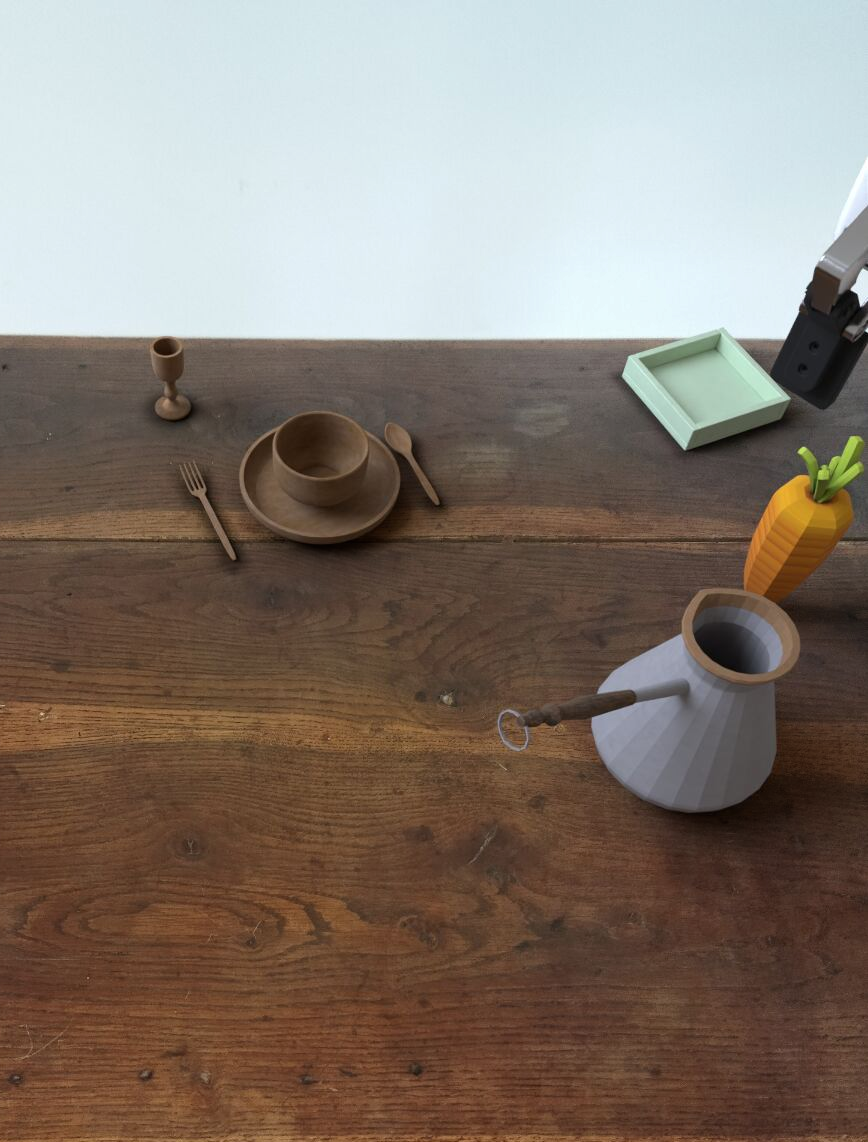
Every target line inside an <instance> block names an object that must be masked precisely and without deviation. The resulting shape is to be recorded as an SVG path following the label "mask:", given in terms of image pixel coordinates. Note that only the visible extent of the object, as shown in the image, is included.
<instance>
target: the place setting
mask: <svg viewBox="0 0 868 1142" xmlns="http://www.w3.org/2000/svg"><path fill="white" fill-rule="evenodd" d="M149 349H150V350H149V351H150V359H151V364H152V369H153V372H154V374H155V376H156V377H157V378H158V379H159V381H162V382H164V384H165V388H164V392H163V393H164V395H163V396H162V397H160V398H158V400H157V401H156V402H155V405H154V410H155V412H156V414H157V416H159V417H160V418H161V419H163V420H166V421H179V420H182V419H184V418H186V417H187V416H188V415H189V414H190V412H191V410H192V405H191V402H190V400H189V399H188V398H187V397H185V396H183V395H181V394H179V390H178V387H177V386H176V381H178V380H179V379H180V378H181V377H182V376H183V373H184V370H185V357H184V347H183V343H182V341H181V340H180V339H179V338H177V337H174V336H172V335H162V336H159V337H157V338H154V339H153V340H152V342H151V343H150V347H149ZM384 439H385V441H386V443H387V445H388V446H389V447H390V448H391V449H392V450H393V451H394V452H396V453H397V454H399V455H401V456H403V457H404V458H406V460H407V461H408V463H409V464H410V466H411V468H412V469H413V471H414V473H415V475H416V477H417V478H418V481H419V482H420V484H421V486H422V487H423V490H424V491H425V493H426V494H427V496H428V497H429V499H430V500H431V501H432V502H433V504H435V506H439V505H440V500H439V498H438V497H439V496H438V495H437V492H436V491H435V489H434V488H433V485H432V484H431V483H430V481H429V480H428V478H427V476H426V475H425V473H424V472H423V470H422V469H421V466H419V464H418V463H417V460H416V459H415V458H414V456H413V452H412V448H413V442H412V438H411V436H410V434H409V433H408V431H407V430H405V429H404V427H402V426H400V425H398V424H397V423H394V422H388V423H386V425H385V427H384ZM387 445H386V444H384V442H382V441H381V440H380V439H379V438H378V437H376V435H374V434H372V433H371V432H368V431H367V430H365V429H363V427H361V426H360V424H359V423H357V422H356V421H354V420H353V419H352V418H350V417H349V416H348V417H347V416H345V415H343V414H340V413H337V412H333V411H327V410H324V411H323V410H315V411H314V410H313V411H307V412H303V413H299V414H297V415H294V416H292V417H290V418H288V419H287V420H286V421H285V422H283V423H282V424H281V425H279V426H277V427H274V428H273V429H270V430H268V431H267V432H266V433H264V434H262V435H261V436H260V437H259V438H257V439H256V440H255V441H254V442H253V443H252V444H251V445H250V446H249V448H248V449H247V451H246V452H245V454H244V455H243V458H242V459H241V463H240V467H239V474H238V475H239V476H238V479H239V489H240V493H241V497H242V499H243V501H244V503H245V506H246V507H247V509H248V511H249V512H250V513H251V514H252V516H253V517H254V518H255V519H256V520H257V521H258V522H259V523H260V524H261V525H262V526H264V527H265V528H266V529H268V530H269V531H271V532H273V533H274V534H276V535H278V536H280V537H283V538H285V539H288V540H290V541H294V542H298V543H303V544H310V545H333V544H339V543H344V542H348V541H352V540H354V539H358V538H360V537H362V536H364V535H366V534H368V533H369V532H371V531H372V530H374V529H375V528H377V527H378V526H379V525H381V523H382V522H383V521H384V520H385V519H386V518H387V517H388V515H390V513H391V512H392V510H393V508H394V506H395V505H396V502H397V499H398V496H399V491H400V486H401V473H400V468H399V465H398V462H397V460H396V458H395V457H394V454H393V453H392V452H391V450H390V449H389V448H388V447H387ZM192 462H193V465H194V468H195V470H196V472H195V471H194V469H193V466H192V464H191V462H188V466H189V469H190V471H191V473H190V472H189V469H188V467H187V465H186V463H185V462H184V463H183V466H184V469H185V471H186V474H187V476H188V478H187V476H186V474H185V472H184V470H183V468H182V467H183V466H182V465H181V464H178V465H179V469H180V473H181V476H182V477H183V480H184V482H185V485H186V486H187V489H188V491H189V493H190V494H191V495H192V496H194V497H196V498H199V500H200V501H201V503H202V506H203V507H204V510H205V511H206V513H207V515H208V518H209V520H210V521H211V523H212V526H213V528H214V530H215V532H216V534H217V536H218V539H219V540H220V542H221V544H222V545H223V547H224V549H225V551H226V552H227V555H228V556H229V557H230V559H231V560H232V561H235V560H237V556H236V553H235V551H234V548H233V547H232V545H231V543H230V540H229V538H228V536H227V534H226V532H225V531H224V529H223V526H222V524H221V523H220V521H219V518H218V516H217V515H216V513H215V511H214V509H213V508H212V505H211V503H210V502H209V500H208V497H207V495H206V494H207V491H208V490H207V487H206V486H207V485H206V484H205V481H204V479H203V476H202V475H201V472H200V470H199V468H198V466H197V463H196V462H195V460H192ZM196 473H197V475H198V477H199V479H198V477H197V475H196ZM191 474H192V476H193V478H194V480H195V483H196V485H197V487H198V489H197V487H196V485H195V483H194V480H193V478H192V476H191ZM188 479H189V481H190V483H189V481H188ZM199 480H200V482H199ZM200 483H201V484H202V486H203V488H202V486H201V484H200ZM190 484H191V486H192V488H193V490H192V488H191V486H190Z"/></svg>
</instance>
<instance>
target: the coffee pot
mask: <svg viewBox="0 0 868 1142" xmlns="http://www.w3.org/2000/svg"><path fill="white" fill-rule="evenodd" d="M800 638H801V637H800V634H799V631H798V629H797V627H796V625H795V623H794V621H793V620H792V619H791V617H790V616H789V615H788V613H787V612H786V611H784V609H782V608H781V607H780V606H779V605H777V603H773V602H772V601H770V600H768V599H766V598H765V597H763V596H761V595H758V594H755V593H752V592H749V591H745V590H744V589H739V588H738V589H737V588H724V587H723V588H722V587H721V588H720V587H716V588H715V587H714V588H702V589H700V590H699V591H698V592H697V593H696V595H695V596H694V597H693V598H692V600H691V601H690V602H689V604H688V605H687V607H686V609H685V610H684V614H683V616H682V619H681V633H679V634H677V635H675V636H674V637H672V638H670V639H669V640H666V641H664V642H662V643H661V644H658V645H657V646H655V647H653V648H651V649H649V650H647V651H646V652H644V653H642V654H640V655H637V656H636V657H634V658H631V659H630V660H628V661H627V662H625V663H624V664H623V665H620V666H619V667H617V668H616V669H615V670H613V671H612V672H611V673H610V674H609V675H608V677H606V679H605V680H604V681H603V683H602V684H601V685H600V686H599V687H598V690H597V693H592V694H585V695H580V696H578V695H577V696H576V697H574V698H572V699H569V700H567V701H565V702H562V703H560V704H557V703H555V702H547V703H545V705H544V704H543V707H542V709H540V710H539V709H530V710H528V711H526V712H524V713H522V714H520V713H519V712H518V711H516V710H513V709H510V708H509V709H506V710H504V711H502V712H500V713H499V716H498V719H497V728H498V733H499V735H500V738H501V740H502V742H503V743H504V745H506V746H507V747H508V748H509V749H511V750H512V751H513V750H514V751H517V752H521V751H523V750H525V749H528V747H529V745H530V742H531V740H532V738H531V733H530V728H538V727H540V726H541V725H542V724H545V725H547V726H548V727H552V728H553V727H557V726H558V725H560V724H561V722H562V721H584V720H589V719H591V725H590V728H591V732H592V735H593V739H594V743H595V747H596V750H597V752H598V755H599V756H600V758H601V760H602V762H603V763H604V766H605V767H606V768H607V770H608V772H609V773H610V774H611V776H613V778H615V779H616V781H618V783H620V784H621V786H623V788H624V789H626V790H628V791H629V792H630V793H632V794H633V795H635V796H637V797H638V798H639V799H641V800H643V802H646V803H649V804H652V805H654V806H656V807H659V808H662V809H665V810H669V811H676V812H682V813H687V814H692V813H708V812H715V811H720V810H723V809H727V808H729V807H732V806H735V805H738V804H740V803H742V802H743V801H744V800H746V799H747V798H748V797H750V796H751V795H753V794H754V793H756V792H757V791H759V790H760V788H761V787H762V785H763V784H764V783H765V781H766V780H767V779H768V777H769V776H770V774H771V773H772V770H773V766H774V762H775V758H776V755H777V751H778V749H777V722H776V693H775V682H776V681H779V680H781V679H782V678H784V677H785V676H786V675H788V674H789V673H791V671H792V670H793V669H794V667H795V666H796V665H797V663H798V660H799V657H800V654H801V653H800V652H801V639H800ZM507 713H510V714H513V715H514V716H515V717H517V718H516V719H515V720H516V724H517V726H518V727H519V728H524V731H525V735H526V741H525V744H524V746H523V747H521V748H519V747H516V746H514V745H513V744H512V743H511V742H509V741H508V740H507V738H506V736H505V733H504V731H503V726H502V720H503V717H504V715H505V714H507Z"/></svg>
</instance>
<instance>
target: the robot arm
mask: <svg viewBox="0 0 868 1142" xmlns="http://www.w3.org/2000/svg"><path fill="white" fill-rule="evenodd" d="M856 177H857V178H856V179H855V181H854V184H853V186H852V188H851V190H850V192H849V195H848V197H847V199H846V201H845V203H844V206H843V208H842V210H841V213H840V215H839V218H838V219H837V222H836V225H835V228H834V232H833V238H832V240H833V243H832V244H830V246H829V247H828V248H827V249H826V251H824V252H823V254H822V255H821V256H820V258H819V260H818V261H817V263H816V264H815V266H814V269H813V273H812V278H811V279H812V280H810V281H809V283H808V284H807V286H806V287H805V291H804V294H805V295H804V297H803V299H802V300H801V302H800V304H799V306H798V313H797V315H796V317H795V320H794V321H793V323H792V326H791V327H790V330H789V331H788V334H787V336H786V338H785V340H784V341H783V344H782V346H781V348H780V351H779V353H778V354H777V357H776V358H775V361H774V363H773V365H772V367H771V370H770V372H769V373H770V375H769V376H770V377H771V378H772V379H773V380H774V381H775V382H776V383H777V384H778V385H779V386H781V387H783V388H785V390H786V389H787V391H789V392H791V393H793V394H794V395H796V396H798V397H799V398H800V399H802V400H803V401H805V402H807V403H808V404H810V405H812V406H813V407H815V408H817V409H818V410H823V411H824V410H827V409H828V408H830V407H831V406H832V405H833V404H834V403H835V402H836V400H837V399H838V397H839V395H840V394H841V392H842V390H843V388H844V387H845V385H846V383H847V381H848V379H849V378H850V376H851V374H852V372H853V370H854V369H855V367H856V365H857V363H858V362H859V360H860V358H861V356H862V355H863V353H864V351H865V349H866V347H867V345H868V331H867V330H868V297H867V298H866V299H865V301H864V302H863V303H862V304H861V303H860V299H859V294H858V293H856V292H855V291H853V290H852V288H853V287H854V286H855V285H856V283H857V281H858V279H859V275H860V274H861V272H862V270H863V269H864V270H865V271H867V272H868V156H867V157H866V159H865V161H864V163H863V165H862V167H861V169H860V171H859V173H858V175H857V176H856Z"/></svg>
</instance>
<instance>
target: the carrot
mask: <svg viewBox="0 0 868 1142" xmlns="http://www.w3.org/2000/svg"><path fill="white" fill-rule="evenodd" d="M865 447H866V442H865V441H864V440H863V438H862V437H861V436H859V435H853V436H851V435H850V437H849V439H848V441H847V443H846V445H845V447H844V450H843V452H842V454H841V456H840V455H836V456H834V457H832V458H831V460H830V463H828V464H829V465H827V464H822V465H821V466H819V464H818V461H817V458H816V457H815V455H814V454H813V453H812V452H811V451H810V450H809V449H808V448H807V447H806V446H802V447H801V448H799V449H798V451H797V454H798V456H799V457H800V458H801V459H802V460H803V462H804V464H805V466H806V467H805V468H806V469H807V473H808V474H807V475H805V474H799V475H796V476H795V477H793V478H792V479H791V480H789V481H788V482H786V483H785V484H784V485H782V486H781V487H780V488H778V489H777V490H776V491H775V492H774V494H773V495H772V497H771V499H770V501H769V502H768V505H767V507H766V508H765V510H764V512H763V515H762V516H761V519H760V521H759V523H758V525H757V527H756V529H755V531H754V533H753V536H752V539H751V541H750V545H749V549H748V552H747V555H746V560H745V564H744V568H743V590H745V591H749V592H752V593H755V594H758V595H761V596H763V597H765V598H766V599H768V600H770V601H772V602H773V603H775V604H777V603H778V602H781V601H782V600H783V599H784V598H786V597H787V596H788V595H791V593H793V591H795V590H796V589H797V588H799V587H800V586H801V585H802V584H803V583H804V582H805V581H806V580H807V579H809V578H810V576H812V574H814V573H815V572H816V570H817V569H819V568H820V567H821V566H822V564H823V563H824V562H825V561H826V559H827V558H828V557H829V556H830V555H831V553H832V551H834V549H835V548H836V547H837V545H838V543H840V542H841V539H842V538H843V537H844V535H845V534H846V533H847V531H849V528H850V527H851V525H852V523H853V521H854V518H855V514H854V510H853V505H852V504H853V503H852V500H851V495H850V493H849V492H848V491H847V490H846V489H845V488H846V487H847V486H848V485H850V484H851V483H853V481H855V480H856V479H858V477H860V476H861V475H862V474H863V473H864V472H865V465H864V464H863V463H862V462H861V461H859V459H860V457H861V455H862V453H863V451H864V448H865Z"/></svg>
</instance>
